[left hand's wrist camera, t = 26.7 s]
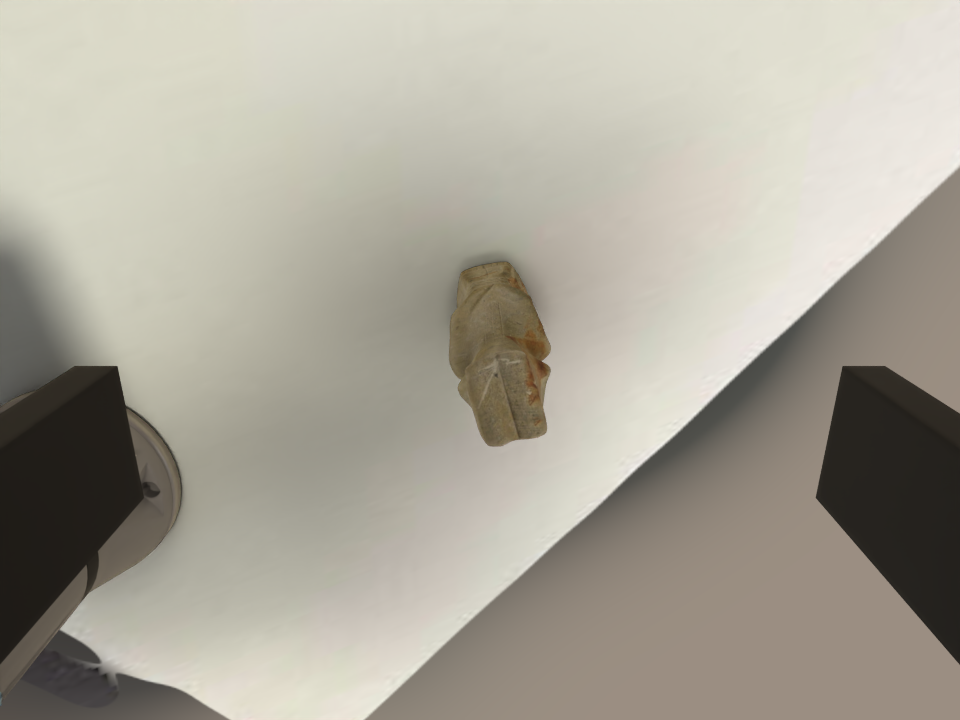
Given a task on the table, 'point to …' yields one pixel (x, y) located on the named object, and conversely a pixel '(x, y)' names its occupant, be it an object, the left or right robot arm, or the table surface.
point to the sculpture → (499, 354)
